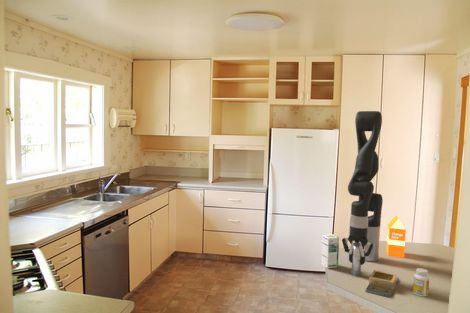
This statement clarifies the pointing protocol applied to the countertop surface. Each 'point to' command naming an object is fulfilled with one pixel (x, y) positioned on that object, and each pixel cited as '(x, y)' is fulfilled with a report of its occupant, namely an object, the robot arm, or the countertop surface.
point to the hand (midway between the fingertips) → (356, 263)
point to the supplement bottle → (421, 282)
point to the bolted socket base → (382, 283)
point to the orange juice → (396, 238)
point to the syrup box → (330, 251)
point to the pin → (356, 260)
